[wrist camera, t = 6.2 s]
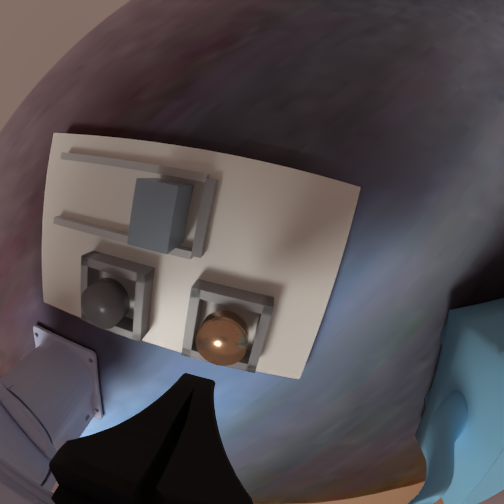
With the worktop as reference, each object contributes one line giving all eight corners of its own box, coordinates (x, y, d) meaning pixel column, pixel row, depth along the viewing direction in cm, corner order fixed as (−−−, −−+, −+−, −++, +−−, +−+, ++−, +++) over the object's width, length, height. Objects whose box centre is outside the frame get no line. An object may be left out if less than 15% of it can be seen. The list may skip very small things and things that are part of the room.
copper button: (243, 356, 18) (240, 370, 17) (198, 345, 18) (192, 358, 17) (253, 316, 18) (251, 329, 16) (205, 305, 18) (199, 316, 16)
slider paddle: (183, 242, 18) (166, 254, 15) (148, 234, 18) (127, 244, 15) (193, 184, 17) (178, 186, 14) (157, 177, 17) (136, 178, 14)
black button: (129, 324, 19) (118, 335, 17) (93, 311, 19) (81, 320, 17) (131, 284, 18) (120, 293, 16) (93, 272, 18) (80, 280, 16)
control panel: (298, 367, 22) (300, 392, 19) (53, 295, 22) (32, 308, 19) (354, 186, 18) (368, 188, 15) (65, 134, 19) (40, 131, 16)
